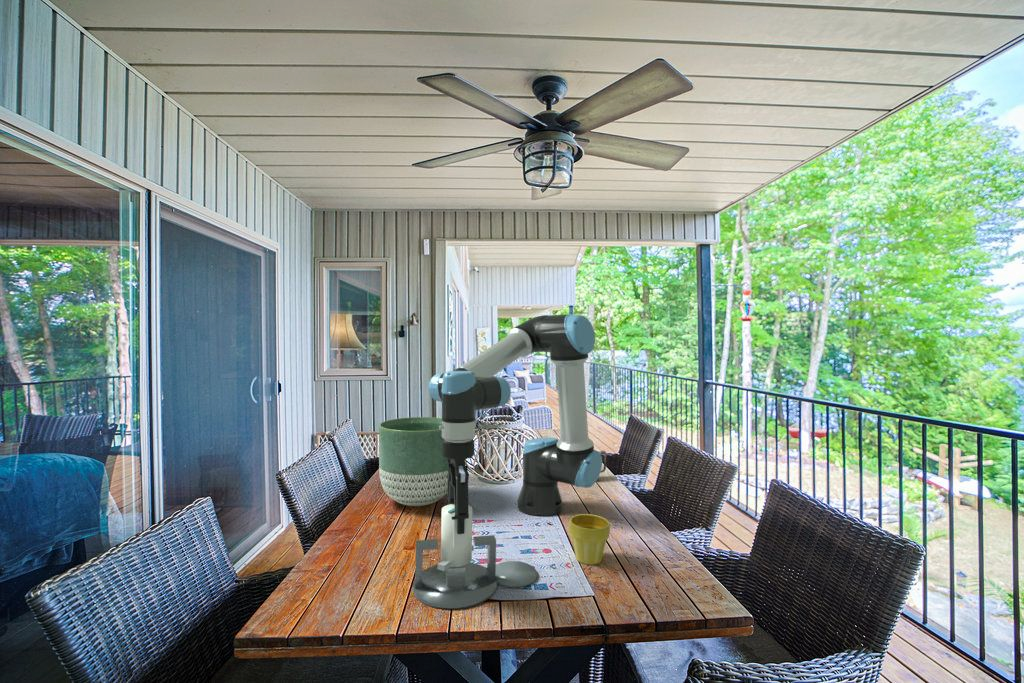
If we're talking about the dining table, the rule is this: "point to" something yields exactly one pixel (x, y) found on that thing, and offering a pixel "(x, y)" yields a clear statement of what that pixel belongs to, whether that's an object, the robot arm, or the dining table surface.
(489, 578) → the grey hook stand
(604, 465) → the mug
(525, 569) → the coaster
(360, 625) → the dining table surface
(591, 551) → the plant pot
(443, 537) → the white teal-striped cylinder
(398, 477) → the planter
